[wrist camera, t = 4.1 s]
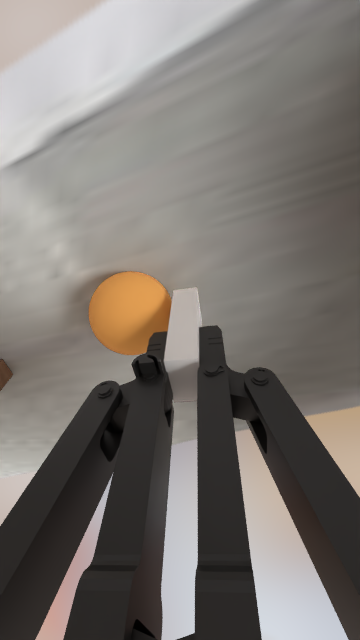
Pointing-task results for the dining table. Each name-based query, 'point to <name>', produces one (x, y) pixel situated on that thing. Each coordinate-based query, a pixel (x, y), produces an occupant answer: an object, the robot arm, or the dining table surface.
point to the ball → (129, 312)
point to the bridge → (4, 374)
